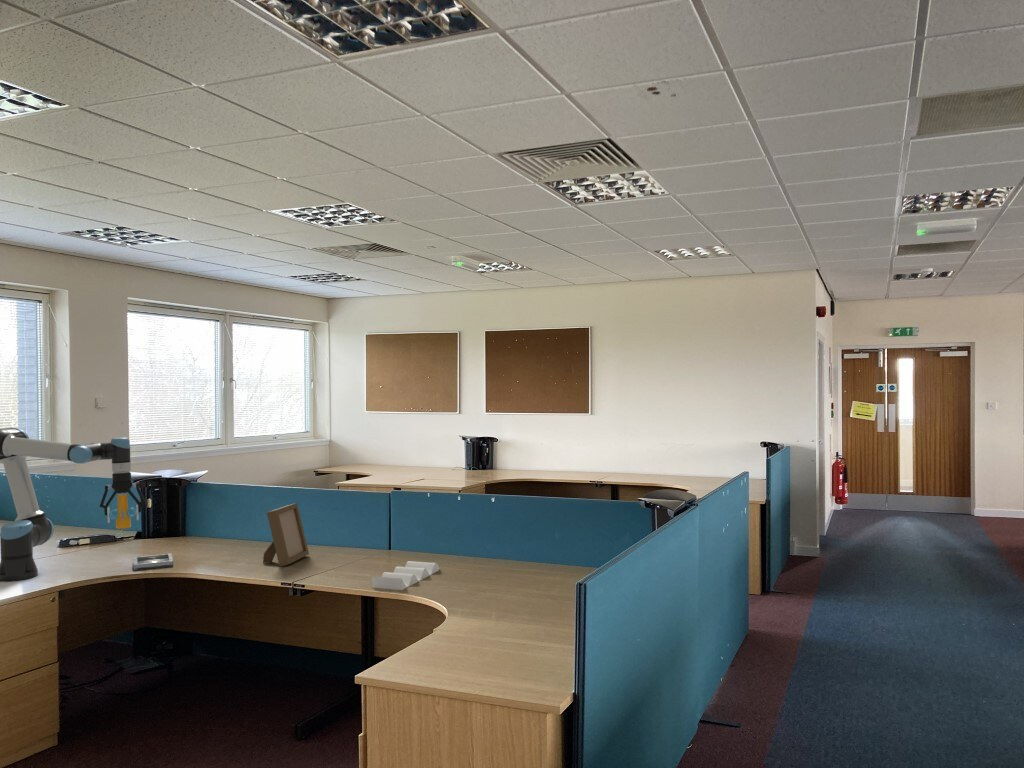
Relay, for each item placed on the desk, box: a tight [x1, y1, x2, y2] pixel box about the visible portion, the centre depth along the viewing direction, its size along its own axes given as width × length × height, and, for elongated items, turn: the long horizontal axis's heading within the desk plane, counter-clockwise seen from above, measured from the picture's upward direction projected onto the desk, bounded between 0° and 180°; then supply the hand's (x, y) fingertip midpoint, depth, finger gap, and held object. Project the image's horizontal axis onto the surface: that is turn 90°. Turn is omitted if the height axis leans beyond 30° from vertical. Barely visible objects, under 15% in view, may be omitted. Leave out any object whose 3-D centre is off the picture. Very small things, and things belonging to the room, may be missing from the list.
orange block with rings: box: [109, 493, 137, 530], centre depth 352 cm, size 12×10×15 cm
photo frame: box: [262, 502, 310, 567], centre depth 359 cm, size 15×22×25 cm
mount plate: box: [133, 553, 174, 571], centre depth 357 cm, size 16×18×2 cm
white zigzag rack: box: [371, 560, 441, 591], centre depth 323 cm, size 13×35×5 cm, turn 160°
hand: (123, 521), depth 352 cm, fingers closed on orange block with rings, 11 cm apart
